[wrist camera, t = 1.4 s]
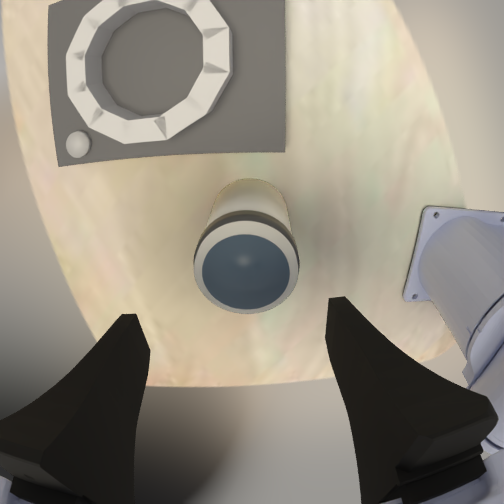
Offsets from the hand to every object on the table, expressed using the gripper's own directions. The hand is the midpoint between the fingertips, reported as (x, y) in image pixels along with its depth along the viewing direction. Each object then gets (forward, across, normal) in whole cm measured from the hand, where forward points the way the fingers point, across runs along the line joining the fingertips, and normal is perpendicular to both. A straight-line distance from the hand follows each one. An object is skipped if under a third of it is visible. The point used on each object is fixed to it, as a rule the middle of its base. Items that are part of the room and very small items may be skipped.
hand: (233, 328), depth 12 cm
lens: (+10, -1, 0) cm, 11 cm away
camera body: (+11, +3, -10) cm, 15 cm away
